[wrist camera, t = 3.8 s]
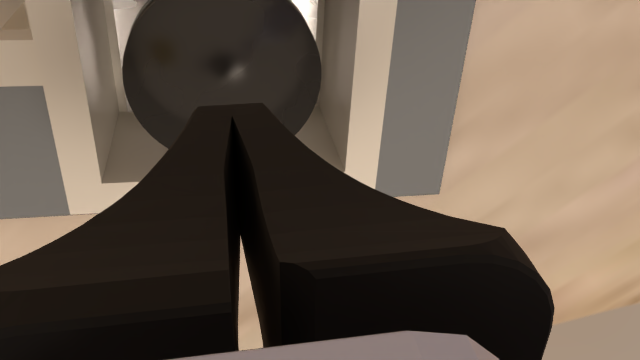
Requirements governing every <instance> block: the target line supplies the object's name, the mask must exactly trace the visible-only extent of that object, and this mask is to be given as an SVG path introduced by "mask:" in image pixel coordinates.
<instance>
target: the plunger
mask: <svg viewBox="0 0 640 360" xmlns="http://www.w3.org/2000/svg"><path fill="white" fill-rule="evenodd" d="M112 1H113V9H114V16H115V23H116V31H117V38H118V46H119V53H120V61H121V68H122V75H123V85H124V90H125V98H126V105H127V112H133V113H134V115H135V117H136V118H137V120H138V121H139V122H140V124H141V125H142V127H143V128H144V129H145V130H146V131H147V132H148V133H149V134H150V135H151V136H152V137H153V138H154V139H155V140H157V141H158V142H159V143H160V144H162V145H163V146H165V147H166V148H168V149H169V148H170V146H171V145H172V144H173V142H174V141H175V140H176V138H177V137H178V136H179V134H180V133H181V131H182V130H183V128H184V127H185V125H186V123H187V122H188V120H189V118H190V117H191V115H192V113H193V111H194V110H195V109H196V108H197V107H198V106H214V105H231V104H248V103H263V104H264V105H265V106H266V107H268V108H269V110H270V111H271V112H272V113H273V114H274V115H275V116H276V117H277V118H278V119H279V120H280V121H281V123H282V124H283V125H284V126H285V127H286V128H287V129H288V130H289V131H290V132H291V133H293V134H294V135H296V134H297V133H298V132H299V131H300V130H301V128H302V127H303V126H304V124H305V123H306V122H307V120H308V118H309V117H310V115H311V113H312V112H313V109H314V107H315V104H316V102H317V99H318V95H319V92H320V86H321V78H322V77H321V60H320V54H319V51H318V47H317V44H316V27H317V7H318V0H112Z"/></svg>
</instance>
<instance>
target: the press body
mask: <svg viewBox="0 0 640 360" xmlns="http://www.w3.org/2000/svg"><path fill="white" fill-rule="evenodd" d="M397 1H398V0H318V7H317V27H316V44H317V47H318V51H319V54H320V60H321V77H322V78H321V86H320V92H319V95H318V99H317V102H316V104H315V107H314V109H313V112H312V113H311V115H310V117H309V118H308V120H307V122H306V123H305V124H304V126H303V127H302V128H301V130H300V131H299V132H298V133H297V134H296V135H295V136H296V137H297V138H298V139H299V140H300V141H301V142H302V143H304V144H305V145H306V146H307V147H308V148H309V149H311V150H312V151H313V152H315V153H316V154H317V155H319V156H320V157H321V158H323V159H324V160H325V161H327V162H328V163H329V164H331V165H332V166H334V167H336V168H337V169H339V170H340V171H342V172H344V173H346V174H347V175H349V176H351V177H352V178H354V179H356V180H358V181H359V182H361V183H363V184H365V185H367V186H369V187H371V188H373V189H375V186H376V177H377V169H378V160H379V152H380V144H381V135H382V127H383V119H384V110H385V102H386V94H387V85H388V77H389V68H390V60H391V52H392V43H393V35H394V27H395V18H396V10H397ZM9 86H43V89H44V94H45V98H46V103H47V108H48V112H49V117H50V122H51V126H52V131H53V136H54V141H55V145H56V150H57V155H58V159H59V164H60V169H61V173H62V178H63V183H64V188H65V192H66V197H67V202H68V206H69V211H70V215H75V214H92V213H100V212H102V211H103V210H105V209H106V208H108V207H109V206H111V205H112V204H114V203H115V202H116V201H118V200H119V199H120V198H122V197H123V196H124V195H125V194H126V193H127V192H129V191H130V190H131V189H132V188H133V187H135V186H136V185H137V184H138V183H139V182H140V181H141V180H142V179H143V178H144V177H145V176H146V175H147V174H148V173H149V171H150V170H151V169H152V168H153V167H154V166H155V165H156V164H157V162H158V161H159V160H160V159H161V158H162V157H163V156H164V154H165V153H166V152H167V150H168V148H166V147H165V146H163V145H162V144H160V143H159V142H158V141H157V140H155V139H154V138H153V137H152V136H151V135H150V134H149V133H148V132H147V131H146V130H145V129H144V128H143V127H142V125H141V124H140V122H139V121H138V120H137V118H136V117H135V115H134V113H133V112H127V105H126V98H125V90H124V85H123V75H122V68H121V61H120V53H119V46H118V38H117V31H116V23H115V16H114V9H113V1H112V0H0V87H9Z"/></svg>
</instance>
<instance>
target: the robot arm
mask: <svg viewBox="0 0 640 360" xmlns="http://www.w3.org/2000/svg"><path fill="white" fill-rule="evenodd" d="M240 235H241V239H242V244H243V249H244V253H245V258H246V263H247V267H248V272H249V276H250V281H251V285H252V290H253V295H254V299H255V304H256V308H257V313H258V317H259V322H260V328H261V334H262V340H263V348H258V349H250V350H242V351H239V349H238V301H239V267H240ZM553 315H554V304H553V300H552V295H551V291H550V289H549V287H548V286H547V284H546V283H545V281H544V280H543V279H542V277H541V276H540V274H539V273H538V272H537V270H536V268H535V267H534V265H533V264H532V262H531V261H530V259H529V258H528V257H527V255H526V254H525V252H524V251H523V250H522V248H521V247H520V246H519V245H518V244H517V242H516V241H515V240H514V239H513V237H512V236H511V235H510V234H509V233H508V232H507V231H506V229H505V228H501V227H496V226H492V225H487V224H482V223H478V222H473V221H468V220H464V219H459V218H455V217H450V216H447V215H443V214H440V213H437V212H434V211H430V210H427V209H424V208H421V207H417V206H415V205H412V204H409V203H406V202H404V201H401V200H398V199H396V198H394V197H391V196H389V195H387V194H385V193H382V192H380V191H378V190H375V189H373V188H371V187H369V186H367V185H365V184H363V183H361V182H359V181H358V180H356V179H354V178H352V177H351V176H349V175H347V174H346V173H344V172H342V171H340V170H339V169H337V168H336V167H334V166H332V165H331V164H329V163H328V162H327V161H325V160H324V159H323V158H321V157H320V156H319V155H317V154H316V153H315V152H313V151H312V150H311V149H309V148H308V147H307V146H306V145H305V144H304V143H302V142H301V141H300V140H299V139H298V138H297V137H296V136H295V135H294V134H293V133H291V132H290V131H289V130H288V129H287V128H286V127H285V126H284V125H283V124H282V123H281V121H280V120H279V119H278V118H277V117H276V116H275V115H274V114H273V113H272V112H271V111H270V110H269V108H268V107H266V106H265V105H264V104H263V103H248V104H231V105H214V106H198V107H197V108H196V109H195V110H194V111H193V113H192V115H191V117H190V118H189V120H188V122H187V123H186V125H185V127H184V128H183V130H182V131H181V133H180V134H179V136H178V137H177V138H176V140H175V141H174V142H173V144H172V145H171V146H170V148H169V149H168V150H167V152H166V153H165V154H164V156H163V157H162V158H161V159H160V160H159V161H158V162H157V164H156V165H155V166H154V167H153V168H152V169H151V170H150V171H149V173H148V174H147V175H146V176H145V177H144V178H143V179H142V180H141V181H140V182H139V183H138V184H137V185H136V186H135V187H133V188H132V189H131V190H130V191H129V192H127V193H126V194H125V195H124V196H123V197H122V198H120V199H119V200H118V201H116V202H115V203H114V204H112V205H111V206H109V207H108V208H106V209H105V210H103V211H102V212H100V213H99V214H98V215H96V216H95V217H93V218H92V219H90V220H89V221H87V222H86V223H84V224H83V225H81V226H80V227H78V228H76V229H75V230H73V231H71V232H69V233H67V234H66V235H64V236H62V237H60V238H59V239H57V240H55V241H53V242H51V243H49V244H47V245H45V246H43V247H41V248H39V249H37V250H35V251H33V252H31V253H29V254H27V255H24V256H22V257H20V258H18V259H15V260H13V261H10V262H8V263H6V264H3V265H1V266H0V360H542V356H543V353H544V350H545V347H546V344H547V341H548V338H549V335H550V332H551V328H552V322H553Z"/></svg>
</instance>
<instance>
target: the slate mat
mask: <svg viewBox="0 0 640 360" xmlns="http://www.w3.org/2000/svg"><path fill="white" fill-rule="evenodd" d="M475 2H476V0H398V1H397V10H396V18H395V27H394V35H393V43H392V52H391V60H390V68H389V77H388V85H387V94H386V102H385V110H384V119H383V127H382V135H381V144H380V152H379V160H378V169H377V177H376V186H375V190H378V191H380V192H382V193H385V194H387V195H389V196H391V197H398V196H416V195H434V194H439V192H440V187H441V182H442V177H443V171H444V166H445V161H446V155H447V150H448V145H449V140H450V134H451V129H452V124H453V118H454V113H455V108H456V103H457V97H458V92H459V87H460V81H461V76H462V71H463V66H464V60H465V55H466V50H467V44H468V39H469V34H470V29H471V23H472V18H473V13H474V7H475ZM92 214H99V213H92ZM65 215H70V211H69V206H68V202H67V197H66V192H65V188H64V183H63V178H62V173H61V169H60V164H59V159H58V155H57V150H56V145H55V141H54V136H53V131H52V126H51V122H50V117H49V112H48V108H47V103H46V98H45V94H44V89H43V86H9V87H0V219H12V218H30V217H47V216H65ZM75 215H82V214H75Z"/></svg>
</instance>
